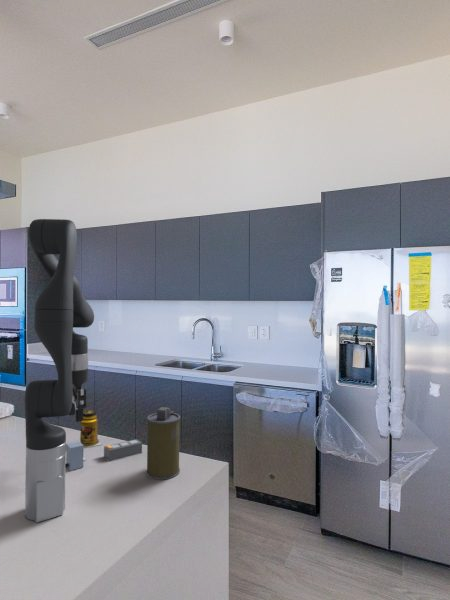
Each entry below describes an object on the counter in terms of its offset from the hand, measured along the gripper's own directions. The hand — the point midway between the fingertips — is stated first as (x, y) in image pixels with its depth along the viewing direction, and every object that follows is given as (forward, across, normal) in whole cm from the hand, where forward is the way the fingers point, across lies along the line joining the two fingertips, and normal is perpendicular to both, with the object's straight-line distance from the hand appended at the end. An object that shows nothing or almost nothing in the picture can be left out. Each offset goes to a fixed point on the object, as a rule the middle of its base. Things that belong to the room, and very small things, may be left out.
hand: (75, 417), depth 123 cm
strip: (+16, 0, -16) cm, 23 cm away
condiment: (+16, +18, -10) cm, 26 cm away
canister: (+16, -20, -22) cm, 33 cm away
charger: (+16, 0, +1) cm, 16 cm away
